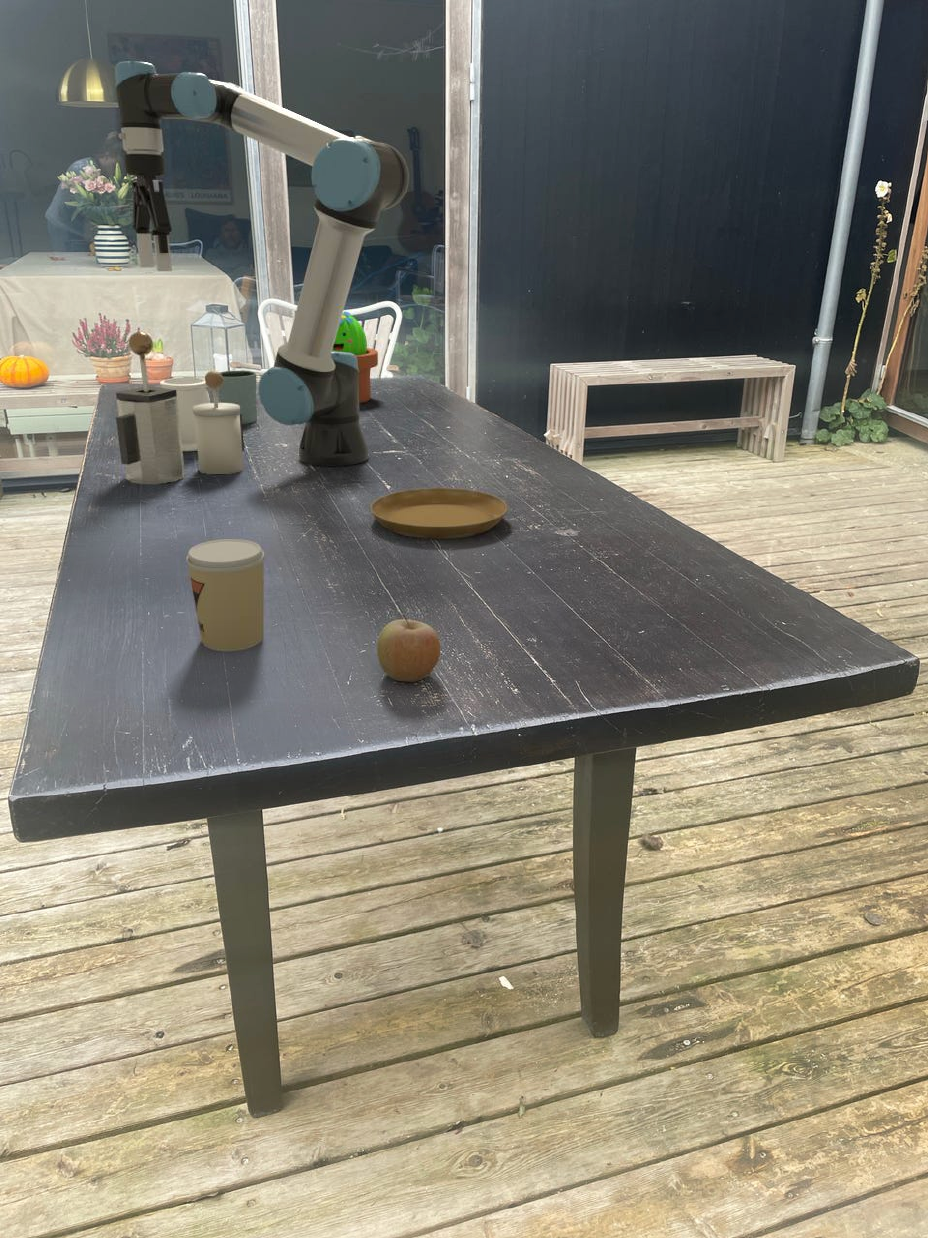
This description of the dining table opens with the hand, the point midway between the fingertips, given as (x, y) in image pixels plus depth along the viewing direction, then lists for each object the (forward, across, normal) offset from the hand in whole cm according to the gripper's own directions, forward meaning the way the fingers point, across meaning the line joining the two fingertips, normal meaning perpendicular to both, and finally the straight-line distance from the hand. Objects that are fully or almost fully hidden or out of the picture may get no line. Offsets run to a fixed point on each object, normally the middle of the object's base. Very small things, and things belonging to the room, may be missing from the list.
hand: (155, 269), depth 195 cm
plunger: (+31, +16, -8) cm, 36 cm away
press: (+39, +17, -9) cm, 43 cm away
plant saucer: (+39, +69, +28) cm, 84 cm away
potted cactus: (+39, -46, +60) cm, 85 cm away
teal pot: (+39, -30, +25) cm, 55 cm away
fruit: (+39, +120, -5) cm, 126 cm away
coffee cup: (+39, +100, -20) cm, 109 cm away
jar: (+39, -6, +5) cm, 40 cm away
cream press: (+39, +15, +6) cm, 42 cm away
